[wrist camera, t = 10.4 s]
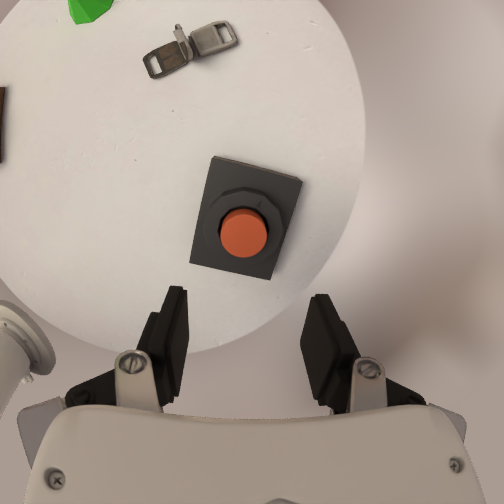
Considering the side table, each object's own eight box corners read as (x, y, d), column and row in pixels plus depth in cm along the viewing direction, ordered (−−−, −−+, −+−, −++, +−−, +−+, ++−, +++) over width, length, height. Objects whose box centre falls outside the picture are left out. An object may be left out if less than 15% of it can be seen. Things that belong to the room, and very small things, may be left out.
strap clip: (227, 21, 18) (225, 2, 14) (239, 45, 19) (239, 29, 15) (142, 57, 19) (126, 46, 15) (153, 81, 20) (137, 73, 16)
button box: (268, 270, 29) (272, 290, 25) (192, 253, 28) (186, 272, 24) (297, 177, 25) (307, 185, 21) (214, 155, 24) (209, 159, 20)
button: (258, 252, 24) (259, 261, 22) (217, 243, 24) (216, 252, 22) (270, 214, 23) (272, 220, 21) (227, 203, 22) (226, 209, 20)
